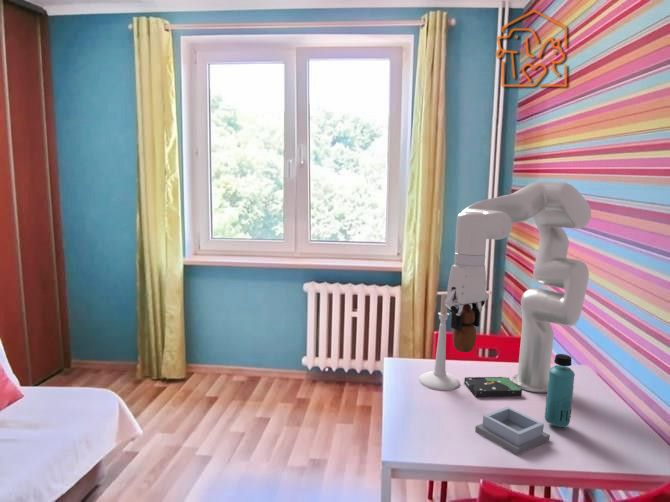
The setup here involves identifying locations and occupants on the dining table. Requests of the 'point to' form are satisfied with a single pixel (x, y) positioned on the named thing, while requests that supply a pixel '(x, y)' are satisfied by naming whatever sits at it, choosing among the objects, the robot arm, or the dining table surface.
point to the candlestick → (440, 359)
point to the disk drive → (492, 387)
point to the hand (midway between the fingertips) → (465, 326)
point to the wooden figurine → (465, 331)
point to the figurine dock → (512, 430)
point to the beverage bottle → (560, 392)
